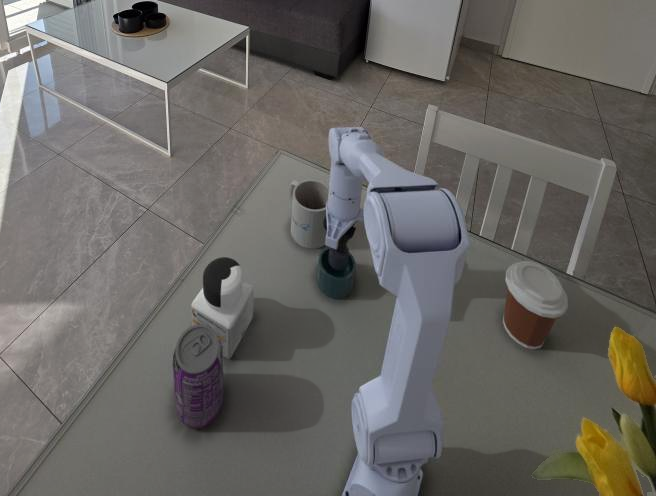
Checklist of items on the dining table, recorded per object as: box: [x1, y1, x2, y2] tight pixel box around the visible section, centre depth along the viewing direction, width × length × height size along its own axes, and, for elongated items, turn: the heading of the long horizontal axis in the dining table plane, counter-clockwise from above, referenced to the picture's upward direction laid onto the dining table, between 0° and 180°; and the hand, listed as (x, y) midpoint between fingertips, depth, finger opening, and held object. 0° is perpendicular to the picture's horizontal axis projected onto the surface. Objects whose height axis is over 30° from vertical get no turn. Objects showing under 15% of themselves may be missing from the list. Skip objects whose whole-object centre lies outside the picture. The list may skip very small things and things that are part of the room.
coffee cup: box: [502, 260, 569, 350], centre depth 74 cm, size 9×9×12 cm
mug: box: [289, 179, 329, 250], centre depth 93 cm, size 12×9×10 cm
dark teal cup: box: [316, 246, 357, 300], centre depth 82 cm, size 7×7×5 cm
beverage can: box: [172, 324, 224, 430], centre depth 63 cm, size 7×7×12 cm
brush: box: [328, 244, 350, 270], centre depth 80 cm, size 4×4×9 cm
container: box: [190, 256, 254, 360], centre depth 72 cm, size 8×8×13 cm
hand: (339, 245), depth 80 cm, fingers closed on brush
